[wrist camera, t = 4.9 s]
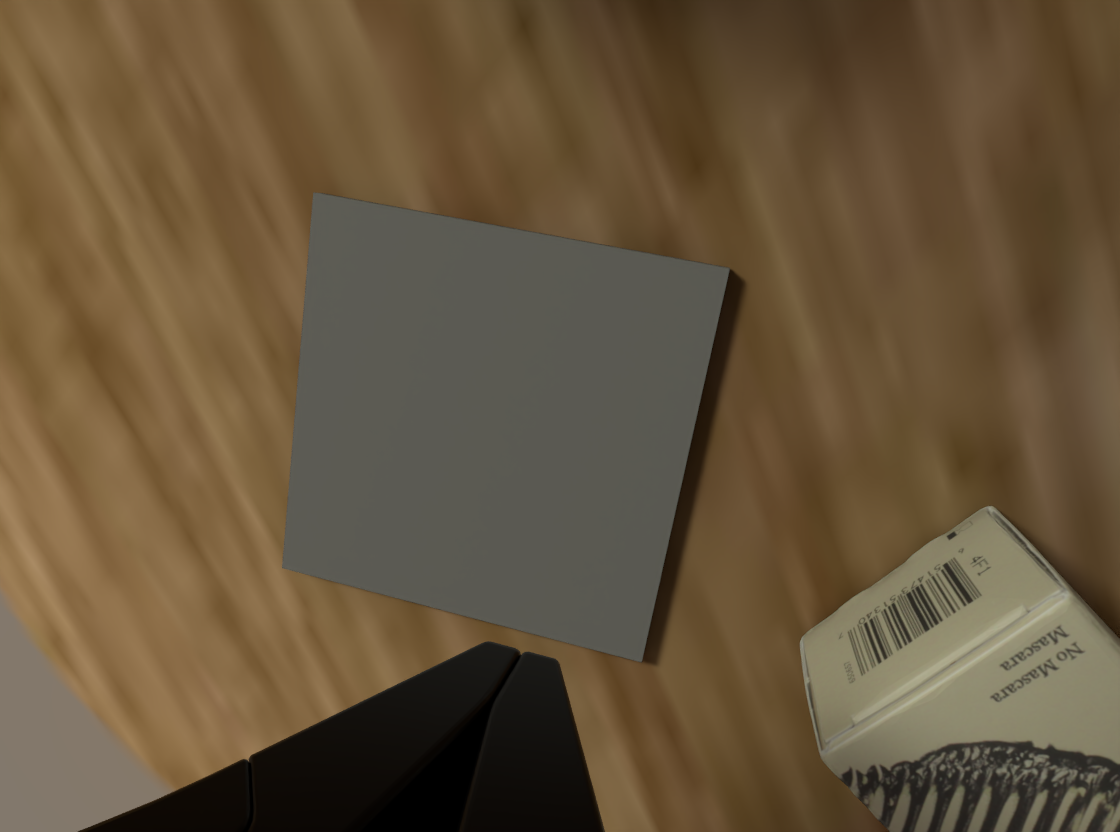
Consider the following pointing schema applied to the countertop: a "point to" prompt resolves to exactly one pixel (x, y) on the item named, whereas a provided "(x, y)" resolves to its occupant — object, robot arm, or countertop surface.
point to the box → (971, 692)
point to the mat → (495, 418)
